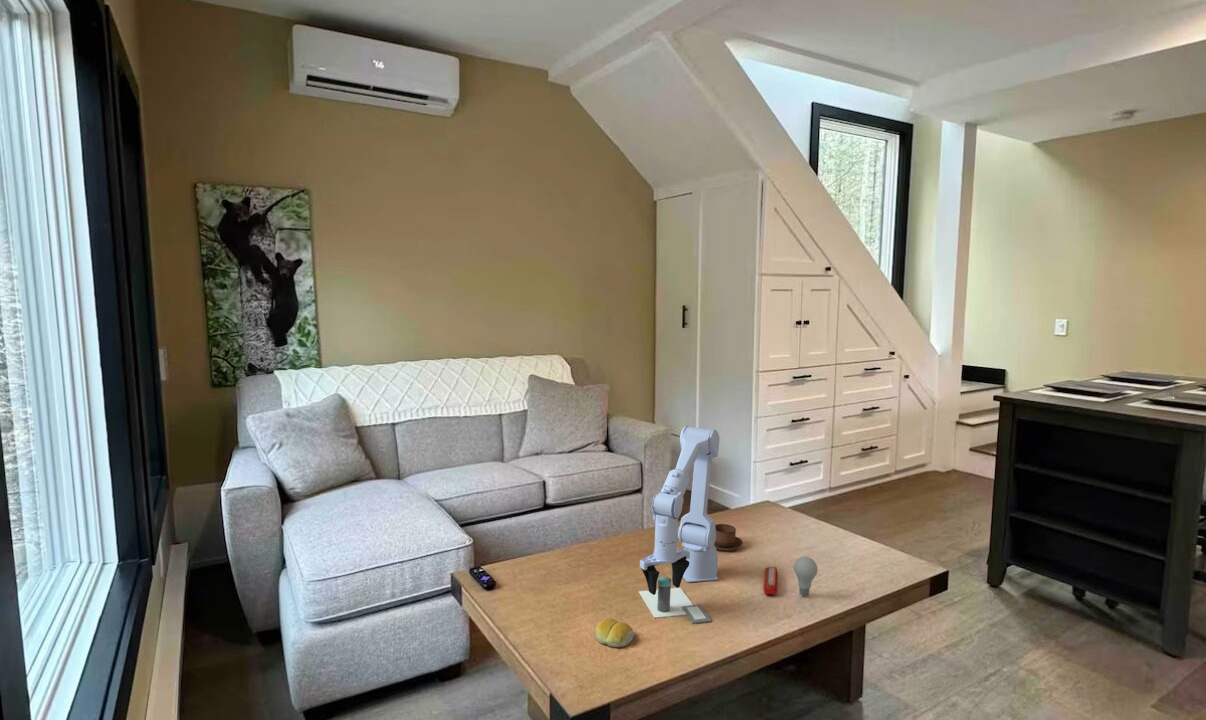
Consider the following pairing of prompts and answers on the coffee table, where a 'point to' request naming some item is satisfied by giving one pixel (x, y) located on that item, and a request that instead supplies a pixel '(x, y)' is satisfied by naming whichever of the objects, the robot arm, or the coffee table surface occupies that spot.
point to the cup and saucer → (726, 538)
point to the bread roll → (614, 633)
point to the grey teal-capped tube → (664, 594)
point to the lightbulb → (805, 574)
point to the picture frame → (696, 614)
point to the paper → (676, 603)
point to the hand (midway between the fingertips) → (664, 589)
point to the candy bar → (770, 580)
